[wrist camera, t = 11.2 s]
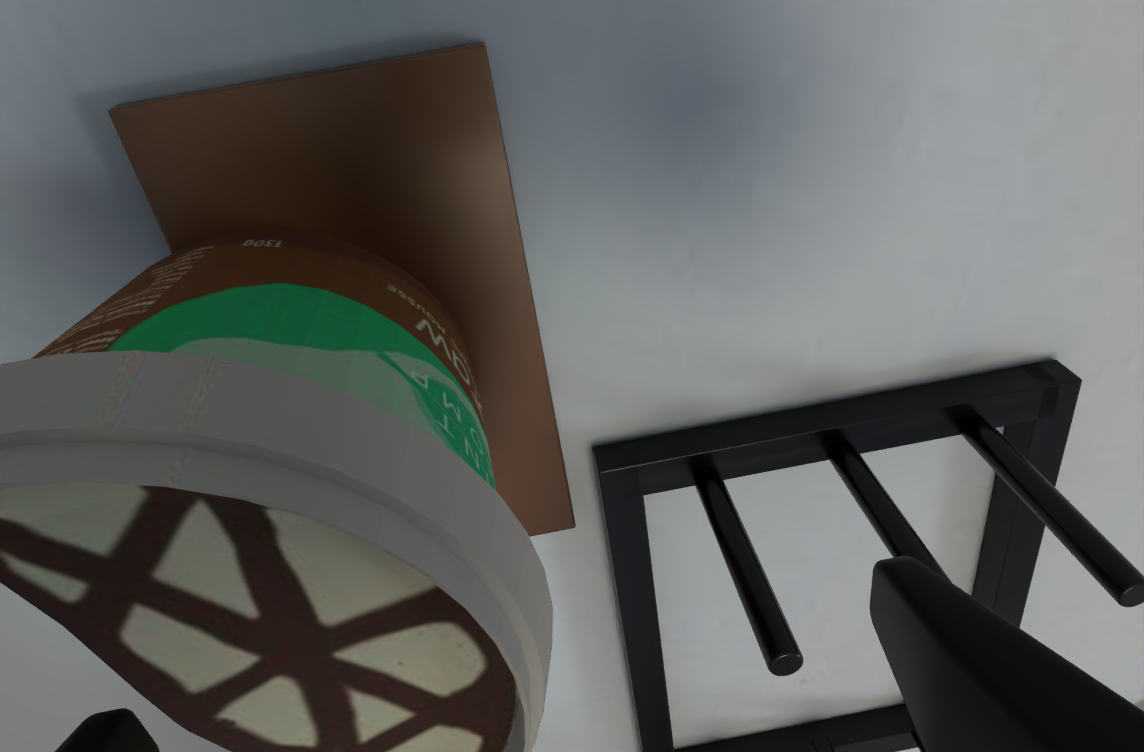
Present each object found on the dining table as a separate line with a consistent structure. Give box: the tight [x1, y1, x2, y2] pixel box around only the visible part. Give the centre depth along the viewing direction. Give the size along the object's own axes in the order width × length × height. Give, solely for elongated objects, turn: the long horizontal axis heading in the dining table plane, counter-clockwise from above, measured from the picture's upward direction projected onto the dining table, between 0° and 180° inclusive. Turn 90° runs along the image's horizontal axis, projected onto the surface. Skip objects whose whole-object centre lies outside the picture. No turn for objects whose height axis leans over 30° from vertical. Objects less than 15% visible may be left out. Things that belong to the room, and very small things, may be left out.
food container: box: [0, 231, 553, 752], centre depth 16 cm, size 12×6×10 cm, turn 30°
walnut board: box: [108, 42, 576, 536], centre depth 20 cm, size 8×14×1 cm, turn 8°
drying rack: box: [592, 360, 1144, 752], centre depth 25 cm, size 14×17×8 cm
